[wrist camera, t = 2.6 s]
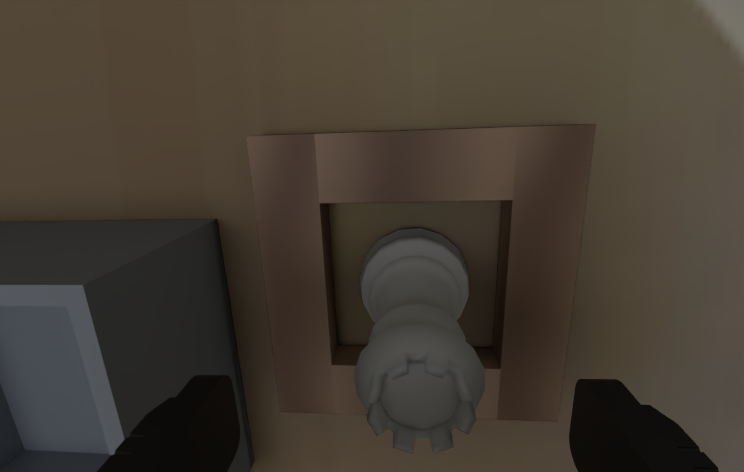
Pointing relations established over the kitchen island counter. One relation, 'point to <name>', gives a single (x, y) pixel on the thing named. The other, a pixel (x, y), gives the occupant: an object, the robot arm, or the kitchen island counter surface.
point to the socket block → (423, 184)
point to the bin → (106, 334)
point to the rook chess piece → (417, 341)
